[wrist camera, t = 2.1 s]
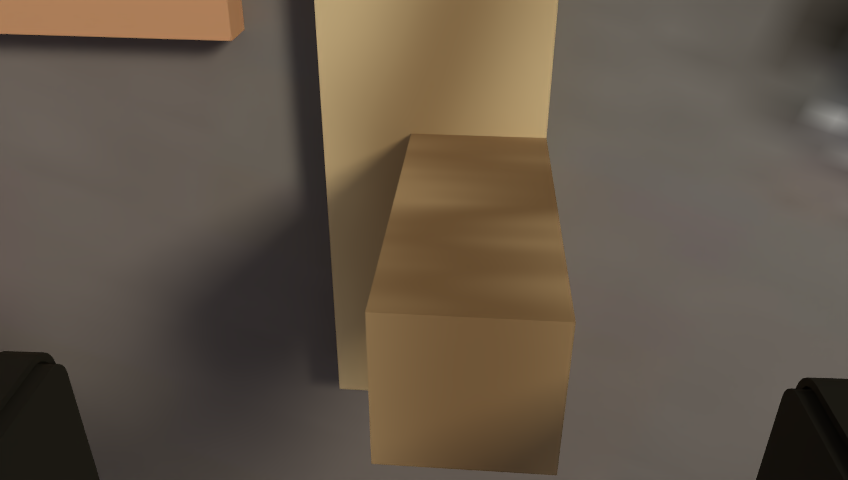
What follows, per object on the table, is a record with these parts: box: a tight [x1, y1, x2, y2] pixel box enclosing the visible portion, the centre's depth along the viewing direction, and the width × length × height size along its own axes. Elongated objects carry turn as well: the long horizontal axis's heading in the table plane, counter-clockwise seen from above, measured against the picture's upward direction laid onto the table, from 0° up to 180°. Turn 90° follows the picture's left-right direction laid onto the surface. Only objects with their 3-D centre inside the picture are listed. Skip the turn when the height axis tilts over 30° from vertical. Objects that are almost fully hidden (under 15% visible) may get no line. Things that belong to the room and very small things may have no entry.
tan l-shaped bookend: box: [314, 0, 576, 475], centre depth 15 cm, size 5×12×8 cm, turn 0°
